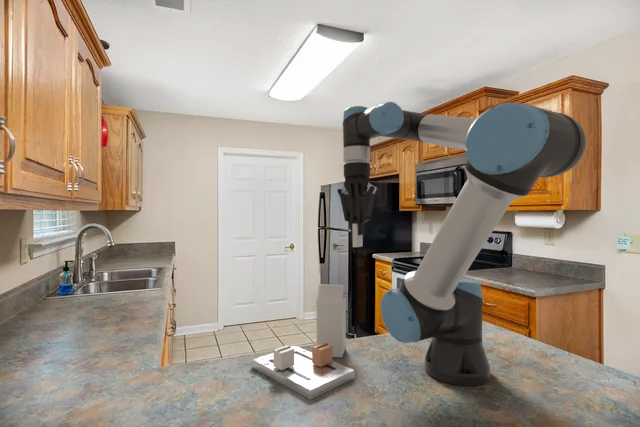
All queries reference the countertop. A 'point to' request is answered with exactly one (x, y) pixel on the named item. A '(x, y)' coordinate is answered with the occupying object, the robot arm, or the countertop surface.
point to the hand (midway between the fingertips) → (357, 246)
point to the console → (305, 373)
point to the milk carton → (332, 318)
